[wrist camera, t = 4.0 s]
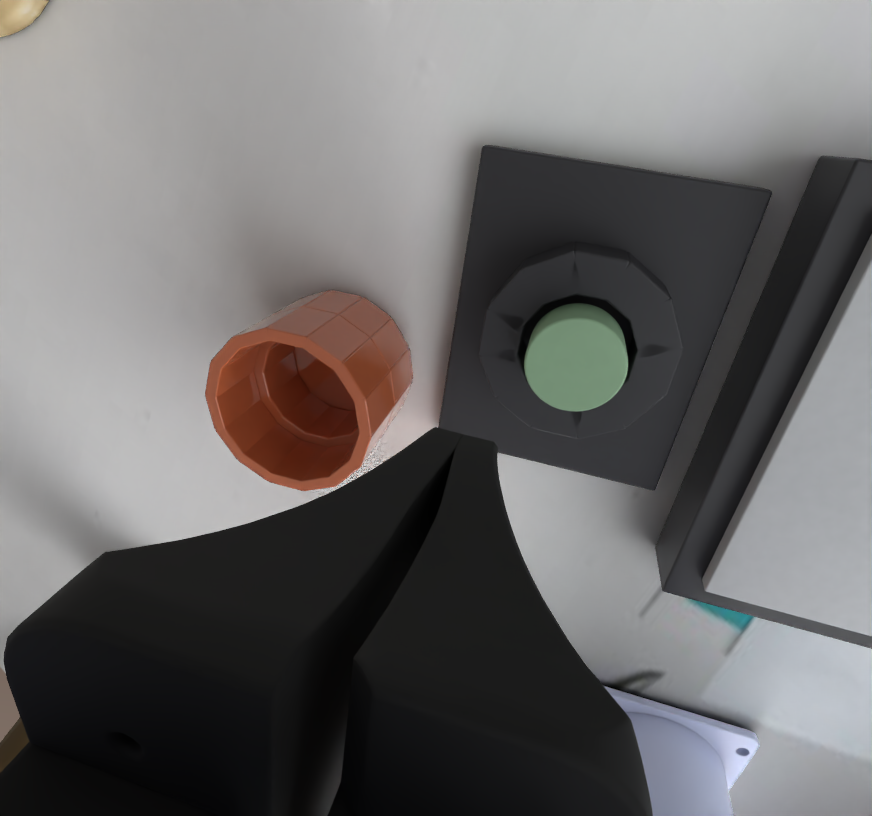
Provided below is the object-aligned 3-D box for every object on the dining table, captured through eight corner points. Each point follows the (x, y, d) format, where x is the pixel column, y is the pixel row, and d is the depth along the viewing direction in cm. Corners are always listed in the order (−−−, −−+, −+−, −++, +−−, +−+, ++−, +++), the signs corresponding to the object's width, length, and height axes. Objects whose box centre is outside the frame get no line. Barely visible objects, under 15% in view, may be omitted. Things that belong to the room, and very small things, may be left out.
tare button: (610, 399, 17) (611, 422, 16) (520, 379, 17) (515, 400, 16) (637, 313, 16) (642, 329, 14) (540, 293, 16) (535, 308, 15)
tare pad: (652, 478, 20) (659, 519, 18) (441, 427, 21) (425, 459, 19) (765, 188, 15) (793, 196, 13) (487, 144, 17) (471, 145, 15)
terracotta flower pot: (409, 434, 22) (364, 508, 18) (282, 403, 23) (209, 466, 18) (426, 304, 19) (378, 353, 15) (282, 274, 20) (198, 312, 16)
